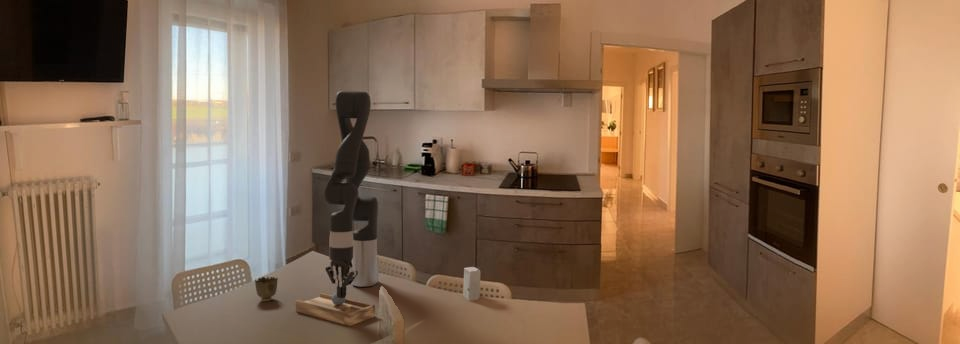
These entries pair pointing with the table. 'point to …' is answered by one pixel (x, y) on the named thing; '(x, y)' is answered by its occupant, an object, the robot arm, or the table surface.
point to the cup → (266, 288)
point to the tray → (336, 309)
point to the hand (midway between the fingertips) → (341, 297)
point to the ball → (337, 299)
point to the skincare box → (471, 283)
